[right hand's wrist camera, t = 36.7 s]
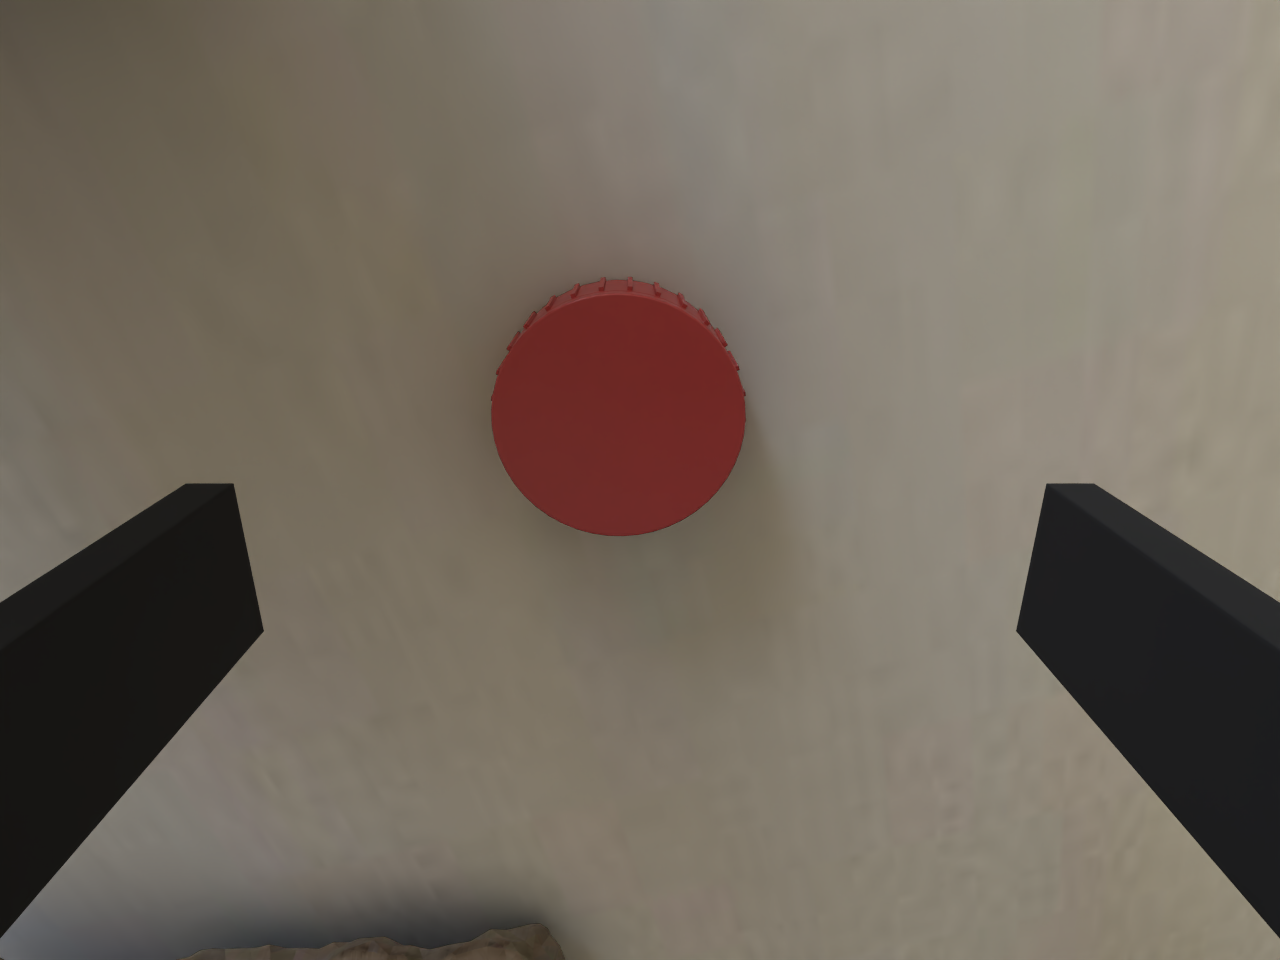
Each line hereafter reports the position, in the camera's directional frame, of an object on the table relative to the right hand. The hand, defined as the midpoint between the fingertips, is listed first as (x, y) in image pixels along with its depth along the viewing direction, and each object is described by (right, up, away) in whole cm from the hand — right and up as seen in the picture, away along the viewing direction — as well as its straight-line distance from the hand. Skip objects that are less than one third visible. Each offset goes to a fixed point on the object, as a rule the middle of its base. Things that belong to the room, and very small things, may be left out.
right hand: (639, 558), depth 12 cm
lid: (0, +3, +4) cm, 5 cm away
